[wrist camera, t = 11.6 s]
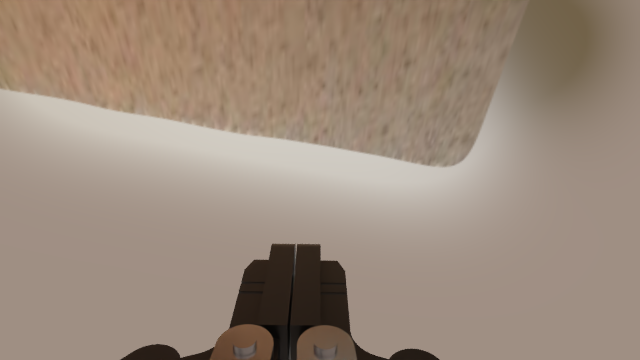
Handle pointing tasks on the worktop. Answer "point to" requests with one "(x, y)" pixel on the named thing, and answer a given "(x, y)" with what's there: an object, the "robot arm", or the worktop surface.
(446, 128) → the worktop surface
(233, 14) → the worktop surface
